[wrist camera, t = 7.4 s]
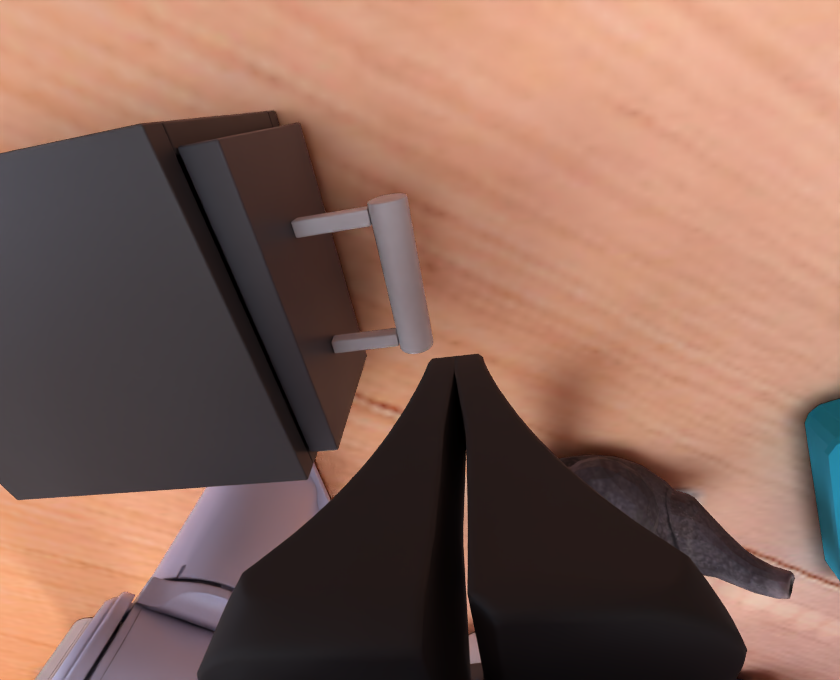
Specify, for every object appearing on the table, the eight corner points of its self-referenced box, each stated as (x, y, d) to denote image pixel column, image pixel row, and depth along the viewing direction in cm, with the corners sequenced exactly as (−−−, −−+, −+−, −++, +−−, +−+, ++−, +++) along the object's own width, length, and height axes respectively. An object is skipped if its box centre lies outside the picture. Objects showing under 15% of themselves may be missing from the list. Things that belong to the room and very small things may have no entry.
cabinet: (275, 110, 17) (141, 123, 9) (352, 358, 23) (308, 480, 16) (1, 166, 19) (-288, 214, 11) (142, 381, 25) (17, 500, 18)
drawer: (402, 101, 15) (375, 107, 10) (443, 347, 21) (441, 442, 16) (35, 175, 18) (-164, 214, 12) (162, 379, 24) (70, 471, 18)
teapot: (726, 523, 29) (843, 703, 20) (519, 565, 33) (544, 728, 25) (686, 311, 20) (857, 466, 12) (416, 405, 25) (399, 568, 16)
